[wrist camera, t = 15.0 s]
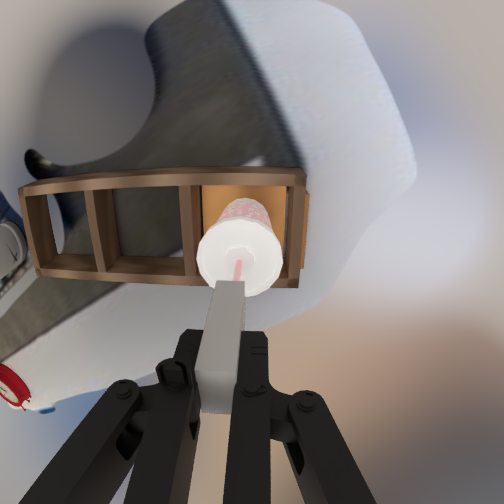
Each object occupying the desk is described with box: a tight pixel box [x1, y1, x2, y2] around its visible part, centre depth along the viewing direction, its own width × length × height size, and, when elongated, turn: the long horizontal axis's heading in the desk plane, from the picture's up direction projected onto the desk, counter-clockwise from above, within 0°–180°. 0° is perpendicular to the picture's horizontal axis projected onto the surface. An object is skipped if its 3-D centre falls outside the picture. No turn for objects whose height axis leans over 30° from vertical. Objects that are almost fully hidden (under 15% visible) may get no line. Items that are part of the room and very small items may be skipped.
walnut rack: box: [18, 166, 309, 288], centre depth 28 cm, size 30×10×4 cm, turn 89°
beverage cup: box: [196, 198, 283, 297], centre depth 23 cm, size 6×6×14 cm
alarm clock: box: [0, 364, 31, 411], centre depth 43 cm, size 10×6×15 cm
